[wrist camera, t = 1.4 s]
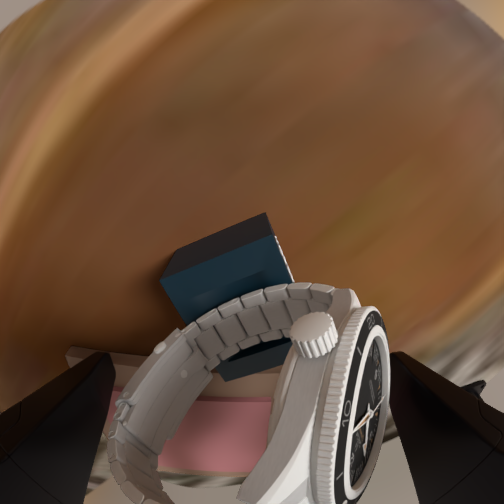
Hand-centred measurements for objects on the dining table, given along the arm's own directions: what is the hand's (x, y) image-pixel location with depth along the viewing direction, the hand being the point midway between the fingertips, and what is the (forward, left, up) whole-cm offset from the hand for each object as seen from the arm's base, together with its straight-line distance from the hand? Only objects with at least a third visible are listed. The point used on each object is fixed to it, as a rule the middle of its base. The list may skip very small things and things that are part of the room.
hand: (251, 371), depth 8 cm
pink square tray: (+4, +12, -6) cm, 14 cm away
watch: (0, 0, -6) cm, 6 cm away
